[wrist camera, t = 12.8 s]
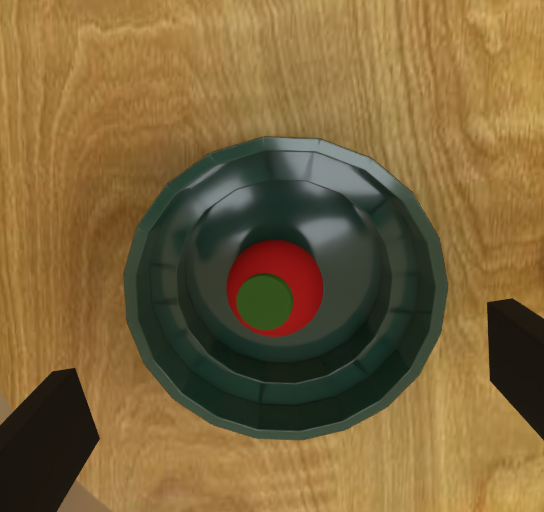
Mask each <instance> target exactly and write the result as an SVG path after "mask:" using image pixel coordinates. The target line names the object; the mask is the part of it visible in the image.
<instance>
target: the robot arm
mask: <svg viewBox="0 0 544 512" xmlns="http://www.w3.org/2000/svg"><path fill="white" fill-rule="evenodd" d="M487 314H488V341H489V368H490V381H491V382H492V383H493V384H494V386H495V387H496V388H497V389H498V390H499V391H500V392H501V393H502V394H503V396H504V397H505V398H506V399H507V400H508V401H509V402H510V403H511V404H512V406H513V407H514V408H515V409H516V410H517V411H518V412H519V413H520V414H521V416H522V417H523V418H524V419H525V420H526V421H527V422H528V423H529V424H530V426H531V427H532V428H533V429H534V430H535V431H536V432H537V433H538V434H539V436H540V437H541V438H542V439H543V440H544V319H543V318H542V317H540V316H539V315H537V314H536V313H534V312H533V311H531V310H530V309H528V308H527V307H525V306H524V305H522V304H521V303H519V302H517V301H516V300H514V299H513V298H511V299H505V300H499V301H493V302H487ZM99 439H100V438H99V435H98V432H97V429H96V426H95V423H94V420H93V418H92V415H91V412H90V409H89V406H88V403H87V400H86V398H85V395H84V392H83V389H82V386H81V383H80V381H79V378H78V375H77V372H76V369H75V368H71V369H65V370H59V371H53V372H51V374H50V375H49V376H48V377H47V378H46V379H45V380H44V381H43V382H42V383H41V384H40V385H39V386H38V387H37V388H36V389H35V390H34V391H33V392H32V393H31V394H30V395H29V396H28V397H27V398H26V399H25V400H24V401H23V402H22V403H21V404H20V405H19V406H18V408H17V409H16V410H15V411H14V412H13V413H12V414H11V415H10V416H9V417H8V418H7V419H6V420H5V421H4V422H3V423H2V424H1V425H0V512H57V510H58V508H59V507H60V505H61V503H62V502H63V499H64V498H65V497H66V495H67V493H68V491H69V490H70V488H71V486H72V485H73V483H74V481H75V480H76V478H77V476H78V475H79V473H80V471H81V470H82V468H83V466H84V464H85V463H86V461H87V459H88V458H89V456H90V454H91V453H92V451H93V449H94V448H95V446H96V444H97V442H98V441H99Z"/></svg>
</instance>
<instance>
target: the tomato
mask: <svg viewBox="0 0 544 512" xmlns="http://www.w3.org/2000/svg"><path fill="white" fill-rule="evenodd" d="M227 298H228V302H229V305H230V308H231V310H232V312H233V313H234V315H235V316H236V318H237V319H238V320H239V321H240V322H241V323H242V324H243V325H244V326H245V327H247V328H248V329H250V330H251V331H253V332H255V333H258V334H260V335H264V336H270V337H280V336H286V335H289V334H293V333H295V332H297V331H299V330H300V329H302V328H303V327H305V326H306V325H307V324H308V323H309V322H310V321H311V320H312V319H313V318H314V316H315V315H316V313H317V311H318V309H319V307H320V305H321V302H322V298H323V279H322V274H321V272H320V269H319V267H318V265H317V263H316V262H315V260H314V259H313V257H312V256H311V255H310V254H309V253H308V252H307V251H306V250H304V249H303V248H301V247H300V246H298V245H296V244H294V243H291V242H288V241H284V240H276V239H273V240H265V241H261V242H258V243H256V244H254V245H252V246H250V247H248V248H247V249H245V250H244V251H243V252H242V253H241V254H240V255H239V256H238V257H237V259H236V260H235V261H234V263H233V265H232V267H231V269H230V271H229V274H228V278H227Z"/></svg>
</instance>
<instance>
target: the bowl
mask: <svg viewBox="0 0 544 512" xmlns="http://www.w3.org/2000/svg"><path fill="white" fill-rule="evenodd" d="M273 239H276V240H284V241H288V242H291V243H294V244H296V245H298V246H300V247H301V248H303V249H304V250H306V251H307V252H308V253H309V254H310V255H311V256H312V257H313V259H314V260H315V262H316V263H317V265H318V267H319V269H320V272H321V274H322V279H323V298H322V302H321V305H320V307H319V309H318V311H317V313H316V315H315V316H314V318H313V319H312V320H311V321H310V322H309V323H308V324H307V325H306V326H305V327H303V328H302V329H300V330H299V331H297V332H295V333H293V334H289V335H286V336H280V337H270V336H264V335H260V334H258V333H255V332H253V331H251V330H250V329H248V328H247V327H245V326H244V325H243V324H242V323H241V322H240V321H239V320H238V319H237V318H236V316H235V315H234V313H233V312H232V310H231V308H230V305H229V302H228V298H227V278H228V274H229V271H230V269H231V267H232V265H233V263H234V261H235V260H236V259H237V257H238V256H239V255H240V254H241V253H242V252H243V251H244V250H245V249H247V248H248V247H250V246H252V245H254V244H256V243H258V242H261V241H265V240H273ZM123 276H124V291H125V306H126V320H127V324H128V327H129V329H130V331H131V334H132V336H133V339H134V341H135V344H136V346H137V348H138V351H139V353H140V356H141V358H142V360H143V363H144V364H145V366H146V367H147V369H148V370H149V371H150V372H151V373H152V375H153V376H154V377H155V378H156V379H157V380H158V382H159V383H160V384H161V385H162V386H163V388H164V389H165V390H166V391H167V392H168V394H169V395H170V396H171V397H172V398H173V399H174V400H175V401H177V402H178V403H180V404H181V405H183V406H184V407H186V408H187V409H189V410H190V411H192V412H193V413H195V414H196V415H198V416H199V417H201V418H202V419H204V420H205V421H207V422H208V423H210V424H213V425H214V426H217V427H221V428H224V429H227V430H230V431H233V432H236V433H240V434H243V435H246V436H249V437H252V438H257V439H280V440H305V439H310V438H314V437H318V436H323V435H327V434H331V433H336V432H340V431H344V430H346V429H349V428H351V427H352V426H354V425H356V424H358V423H360V422H362V421H363V420H365V419H367V418H369V417H371V416H373V415H374V414H376V413H378V412H380V411H382V410H383V409H385V408H386V407H388V406H389V405H390V404H391V403H392V402H393V401H394V400H395V399H396V398H397V397H398V396H399V395H400V394H401V393H402V392H403V391H404V390H405V389H406V388H407V387H408V386H409V385H410V384H411V383H412V382H413V381H414V380H415V379H416V378H417V377H418V376H419V374H420V373H421V371H422V369H423V367H424V365H425V363H426V361H427V359H428V357H429V355H430V354H431V352H432V350H433V348H434V346H435V344H436V342H437V340H438V338H439V336H440V334H441V331H442V324H443V318H444V311H445V305H446V298H447V292H448V281H447V275H446V270H445V265H444V259H443V254H442V249H441V243H440V238H439V236H438V234H437V232H436V231H435V229H434V227H433V226H432V224H431V222H430V221H429V219H428V217H427V215H426V214H425V212H424V210H423V209H422V207H421V205H420V203H419V202H418V200H417V198H416V197H415V195H414V194H413V192H412V191H411V190H410V189H408V188H407V187H406V186H405V185H404V184H402V183H401V182H400V181H399V180H398V179H396V178H395V177H394V176H393V175H392V174H390V173H389V172H388V171H387V170H386V169H384V168H383V167H382V166H381V165H380V164H379V163H377V162H376V161H375V160H374V159H372V158H371V157H368V156H365V155H363V154H360V153H357V152H355V151H352V150H350V149H347V148H344V147H342V146H339V145H336V144H334V143H331V142H328V141H326V140H323V139H319V138H298V137H268V136H265V137H260V138H256V139H253V140H250V141H246V142H243V143H240V144H237V145H233V146H230V147H227V148H223V149H220V150H217V151H213V152H211V153H209V154H207V155H206V156H204V157H203V158H202V159H200V160H199V161H197V162H196V163H195V164H193V165H192V166H191V167H189V168H188V169H186V170H185V171H184V172H182V173H181V174H179V175H178V176H177V177H175V178H174V179H173V180H171V181H170V182H168V183H167V185H165V186H164V188H163V189H162V191H161V192H160V194H159V195H158V196H157V198H156V199H155V201H154V202H153V204H152V205H151V206H150V208H149V209H148V211H147V212H146V214H145V215H144V216H143V218H142V219H141V221H140V222H139V224H138V225H137V227H136V230H135V234H134V237H133V241H132V244H131V248H130V252H129V255H128V259H127V262H126V266H125V270H124V275H123Z"/></svg>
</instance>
